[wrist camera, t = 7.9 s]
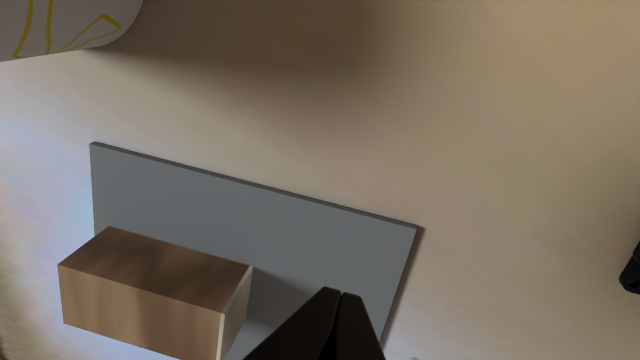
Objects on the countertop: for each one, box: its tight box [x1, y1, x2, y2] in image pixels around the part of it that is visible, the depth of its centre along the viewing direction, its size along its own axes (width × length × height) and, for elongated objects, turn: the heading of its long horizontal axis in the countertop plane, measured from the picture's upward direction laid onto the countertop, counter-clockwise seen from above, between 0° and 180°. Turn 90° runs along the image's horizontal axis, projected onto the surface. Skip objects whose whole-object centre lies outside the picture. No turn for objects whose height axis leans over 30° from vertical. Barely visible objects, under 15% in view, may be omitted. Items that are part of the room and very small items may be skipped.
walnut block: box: [58, 226, 253, 360], centre depth 23 cm, size 4×4×9 cm
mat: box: [90, 142, 417, 360], centre depth 25 cm, size 18×14×1 cm
